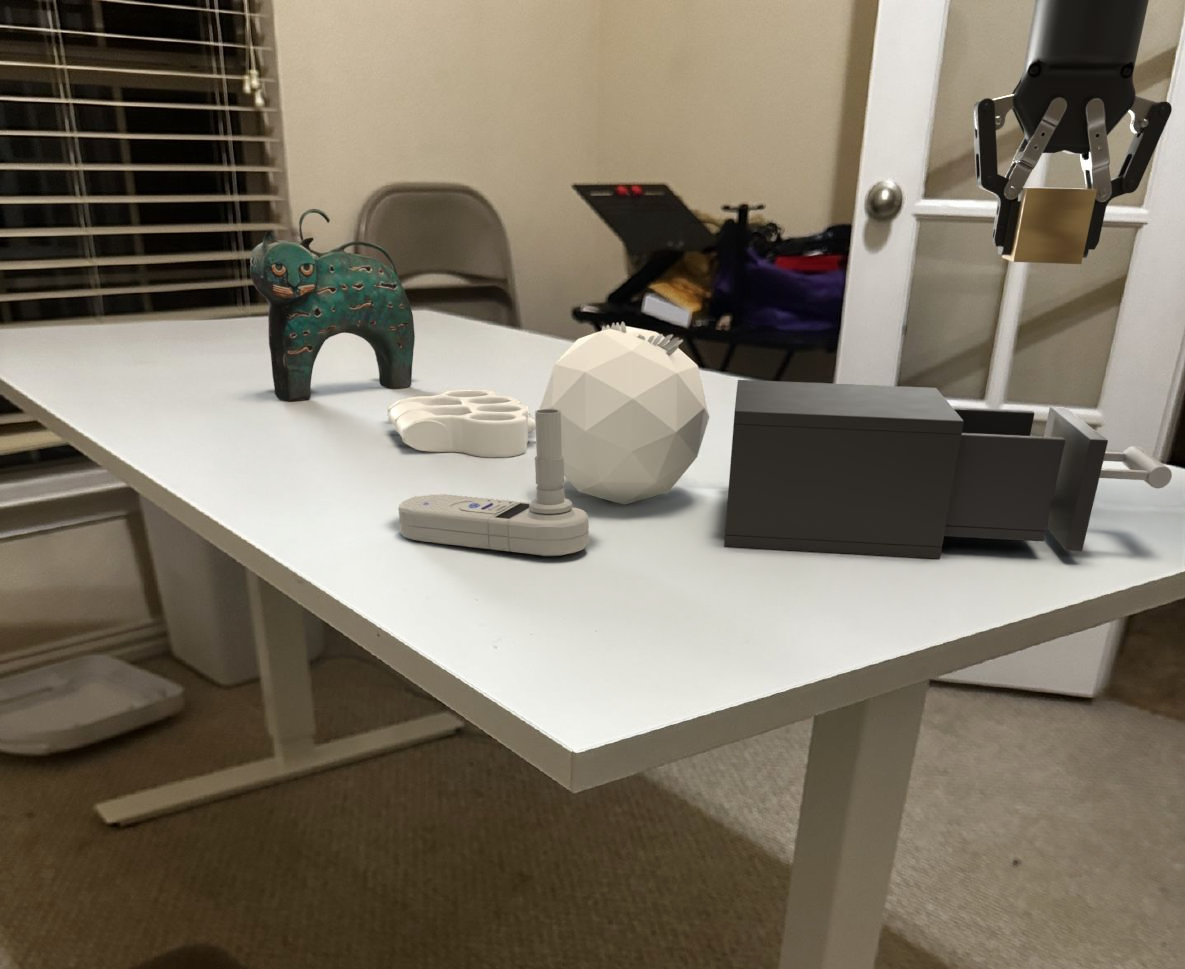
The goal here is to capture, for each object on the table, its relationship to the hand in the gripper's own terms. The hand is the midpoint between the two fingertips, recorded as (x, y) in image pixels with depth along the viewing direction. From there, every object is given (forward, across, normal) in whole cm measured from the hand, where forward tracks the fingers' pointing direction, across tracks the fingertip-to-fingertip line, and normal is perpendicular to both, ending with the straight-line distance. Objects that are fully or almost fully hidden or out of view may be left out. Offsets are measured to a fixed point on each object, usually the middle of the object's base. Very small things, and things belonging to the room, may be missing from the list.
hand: (1042, 254), depth 87 cm
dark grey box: (+19, -14, -10) cm, 26 cm away
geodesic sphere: (+20, -32, -4) cm, 37 cm away
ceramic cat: (+20, -71, +38) cm, 83 cm away
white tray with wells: (+20, -50, +15) cm, 56 cm away
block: (0, 0, 0) cm, 0 cm away
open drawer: (+18, -1, -10) cm, 21 cm away
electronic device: (+20, -39, -20) cm, 48 cm away
